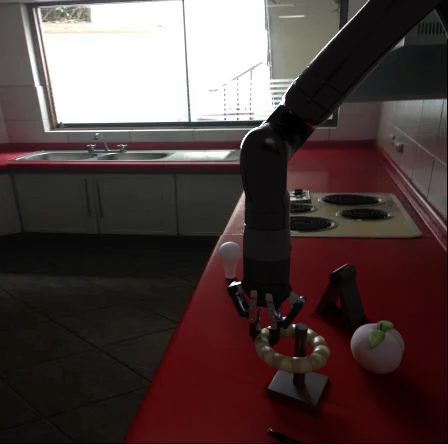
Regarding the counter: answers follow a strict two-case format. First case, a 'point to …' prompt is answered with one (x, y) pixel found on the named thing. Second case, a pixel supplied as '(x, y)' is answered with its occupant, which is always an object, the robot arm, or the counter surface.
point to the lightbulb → (230, 258)
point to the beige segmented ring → (293, 363)
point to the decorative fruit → (378, 347)
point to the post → (299, 379)
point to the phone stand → (343, 295)
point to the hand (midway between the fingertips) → (264, 341)
